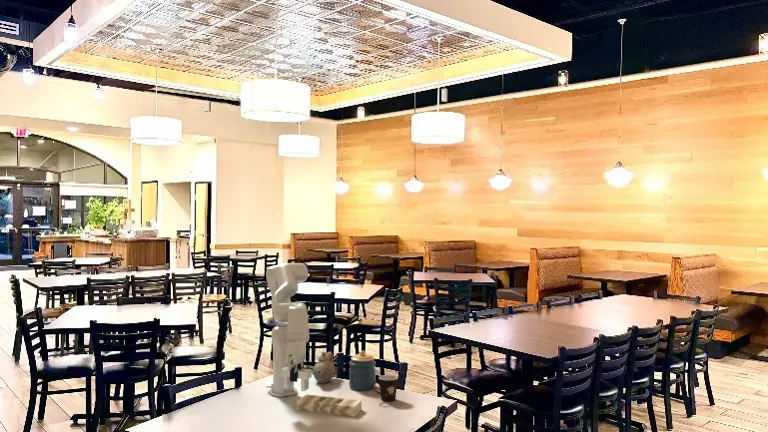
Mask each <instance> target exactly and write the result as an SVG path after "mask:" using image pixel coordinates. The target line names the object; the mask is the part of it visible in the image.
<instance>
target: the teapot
mask: <svg viewBox="0 0 768 432" xmlns="http://www.w3.org/2000/svg"><path fill="white" fill-rule="evenodd" d="M333 355H334V354H333V353H332V352H331V351H328V352H327V353H326V351H322V352H321V355H320V356H318V361H317V362H316V363H315V364H314V366H313V367H312V376H313V378H314V379H315V381H316V382H317V383H320V384H326V383H328V382H329V381H331V380H332V379H333V378H334V377H335V376H336V374H337V371H336V366H335V364H334V356H333Z"/></svg>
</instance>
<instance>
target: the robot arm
mask: <svg viewBox="0 0 768 432" xmlns="http://www.w3.org/2000/svg"><path fill="white" fill-rule="evenodd" d="M308 271H309V270H308V266H306V264H304V263H303V262H297V263H296V262H295V263H294V262H288V263H287V262H286V263H281V264H278V265H272V266H269V267H268V268H267V269H266V273H265V275H266V276H265V277H266V282H267V286H268V289H269V291H270V294H271V311H272V316H273V319H274V322H276V323H279V324H280V325H276V326H274V327H273V328H272V330H271V333H270V335H271V343H272V355H273V356H272V359H273V360H272V362H273V363H272V367H273V369H272V376H273V377H272V379H273V380H272V382H269V381H268V382H266V385H265V388H269V389H270V390H269V394H270V396H273V397H279V398H282V397H283V398H285V397H292V396H294V395H296V394H297V393H298V389H297V388H295V384H294V383H297V382H298V378H297V372H296V371H297V368H302V369H304V364H305V360H306V357H307V356H306V352H307V350H306V349H307V347H306V344H307V343H308V342H309V340H310V327H309V318H308V317H309V316H308V309H307V308H308V307H307V306H306V304H305V303H304V302H300V301H294V302H292V301H291V298H292V297H293V296H295V294H297V293H298V291H299V284H298V283H303V282H306V281H307V279H308V277H309V276H308V275H309V272H308ZM281 324H282V325H281ZM284 367H287V368H288V369H289V372H290V381H292V386H291V387H290V388H288V389H284V377H282V376H281V369H283V368H284Z"/></svg>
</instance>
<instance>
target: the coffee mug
mask: <svg viewBox="0 0 768 432" xmlns="http://www.w3.org/2000/svg"><path fill="white" fill-rule="evenodd" d="M398 379H399V377H398V376H396V375H391V374H385V375H380V376H379V377H378V381H377V380H376V381H375V382H373V383H372V385H371V387H372V389H371V390H373V391H374V392H375V393H377V394H378V395H380V401H382V402H385V403H393V402H394V401H396V398H397V397H396V396H397V390H398V382H399V381H398ZM374 383H376V384H378V386H379V390H380V391H377V390H376V389H375V388H374V389H373V384H374Z"/></svg>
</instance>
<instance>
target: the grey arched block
mask: <svg viewBox="0 0 768 432" xmlns="http://www.w3.org/2000/svg"><path fill="white" fill-rule="evenodd" d="M296 372H297V379H300V391H301V392H306V391H307V390H308V389H309V388H310V386H309V385H310V378H312V376H313V369H311V368H310V369H309V368H303V369H302V368H297V371H296ZM281 376H282V377H284V389H288V388H290V387H291V386H292V381H290V372H289V369H288V368H287V367H284V368H283V369H281Z"/></svg>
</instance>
